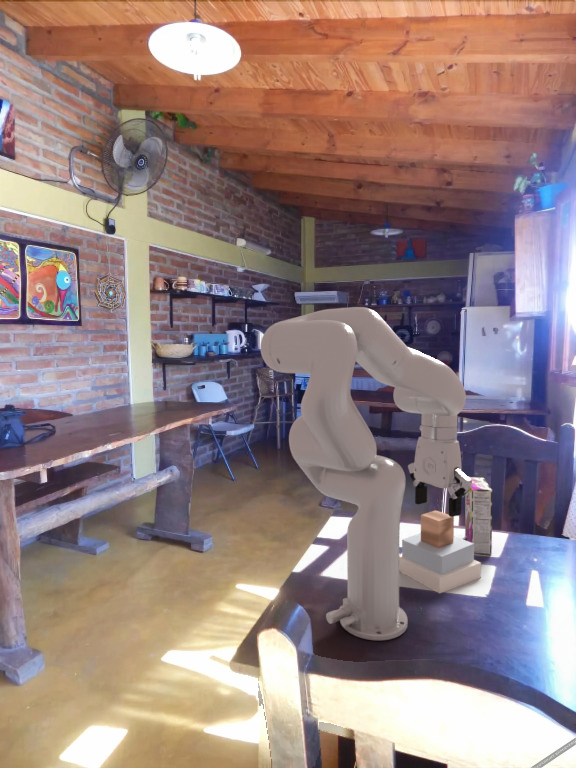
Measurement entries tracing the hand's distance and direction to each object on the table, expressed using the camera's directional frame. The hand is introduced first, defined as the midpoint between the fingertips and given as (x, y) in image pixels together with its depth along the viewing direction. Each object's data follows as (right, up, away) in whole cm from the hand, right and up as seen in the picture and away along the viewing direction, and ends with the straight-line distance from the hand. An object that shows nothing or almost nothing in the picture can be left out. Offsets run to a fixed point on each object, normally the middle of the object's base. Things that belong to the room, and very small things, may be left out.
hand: (437, 509), depth 109 cm
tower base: (+1, -16, +2) cm, 16 cm away
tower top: (0, -12, +1) cm, 12 cm away
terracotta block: (0, -8, +1) cm, 8 cm away
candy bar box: (+15, -14, +16) cm, 26 cm away
